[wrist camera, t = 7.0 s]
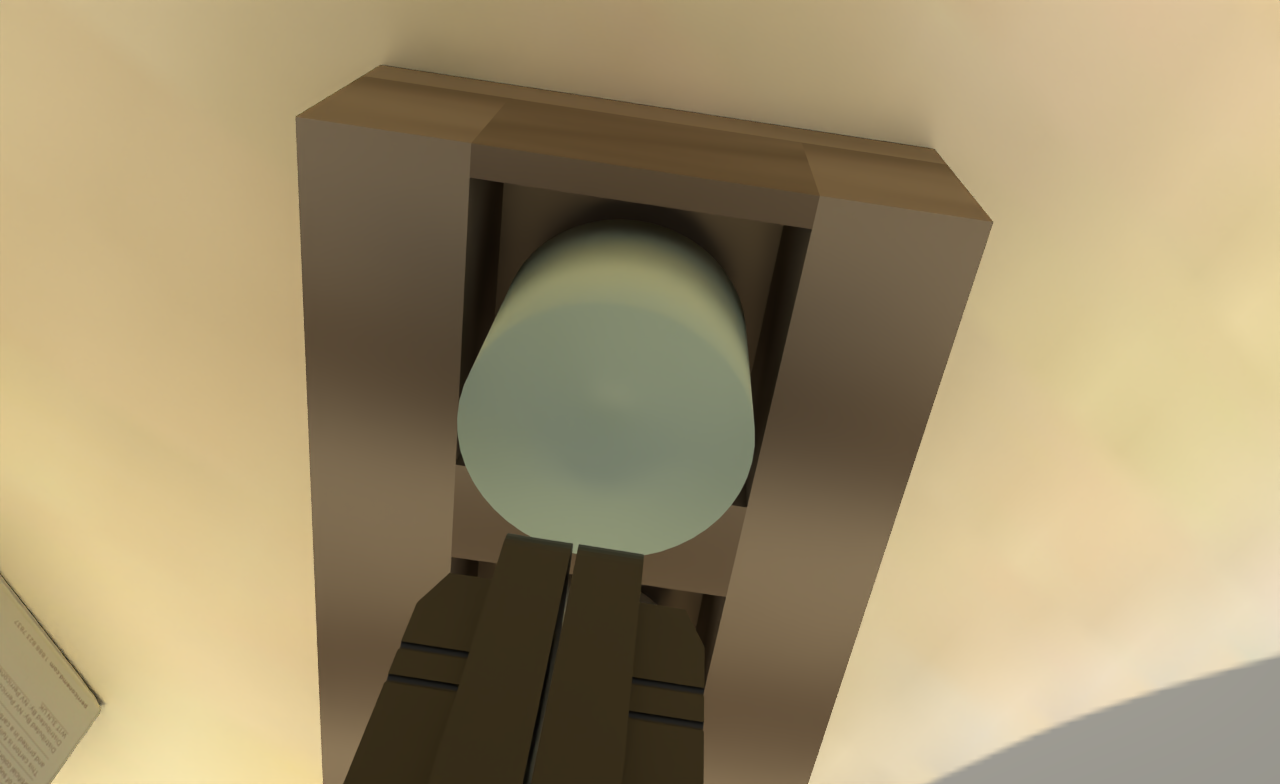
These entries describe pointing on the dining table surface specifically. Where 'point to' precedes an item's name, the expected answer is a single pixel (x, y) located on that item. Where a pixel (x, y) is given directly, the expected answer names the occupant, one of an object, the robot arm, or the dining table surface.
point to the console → (777, 348)
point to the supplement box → (36, 698)
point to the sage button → (612, 392)
